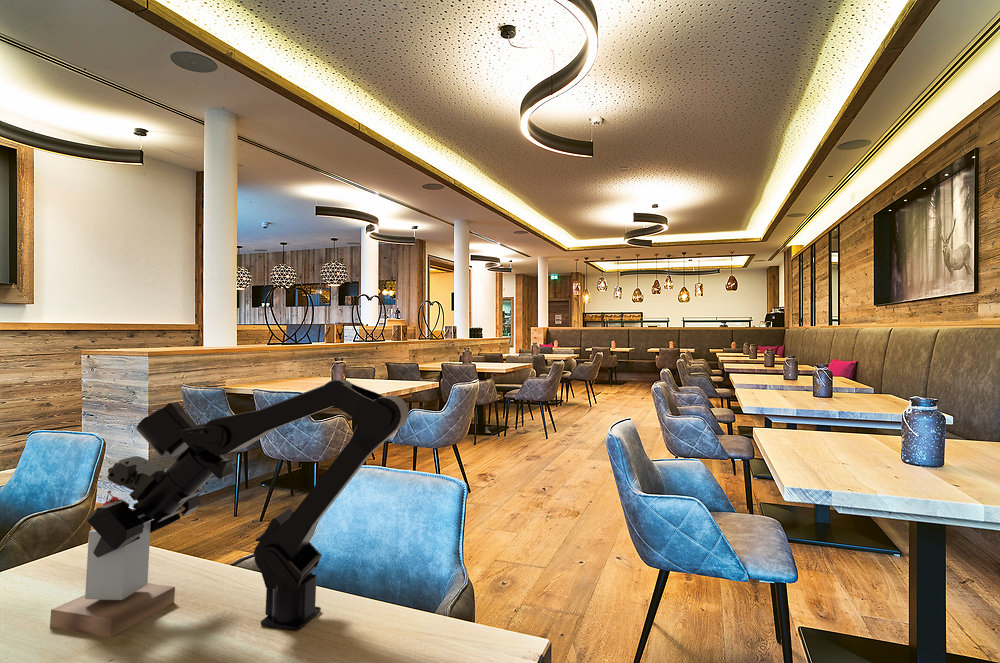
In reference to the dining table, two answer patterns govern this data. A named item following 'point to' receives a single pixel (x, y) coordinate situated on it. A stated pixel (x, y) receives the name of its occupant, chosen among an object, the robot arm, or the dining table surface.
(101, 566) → the grey rectangular block
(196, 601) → the dining table surface
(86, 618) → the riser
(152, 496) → the robot arm
